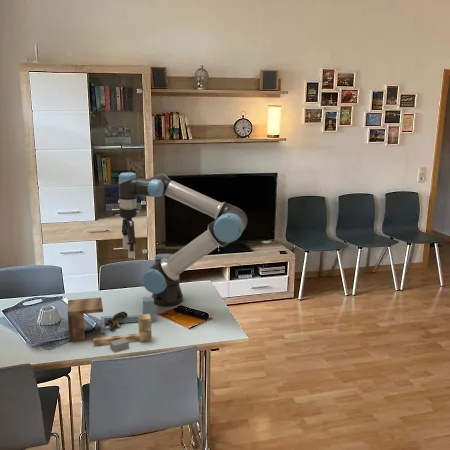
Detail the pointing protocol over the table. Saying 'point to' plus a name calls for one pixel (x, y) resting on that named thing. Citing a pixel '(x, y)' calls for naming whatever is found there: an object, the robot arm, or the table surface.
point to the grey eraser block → (119, 344)
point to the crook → (147, 309)
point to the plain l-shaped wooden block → (142, 336)
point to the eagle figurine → (116, 319)
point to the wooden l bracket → (81, 316)
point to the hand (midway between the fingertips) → (128, 253)
